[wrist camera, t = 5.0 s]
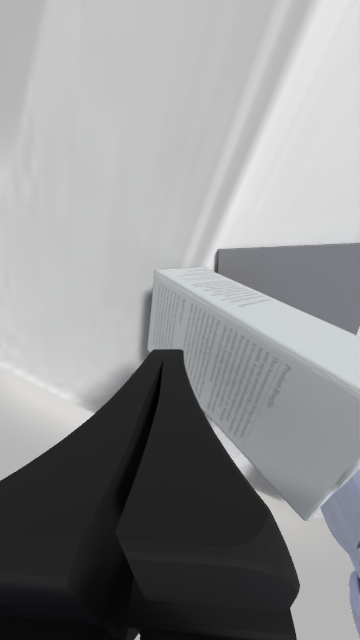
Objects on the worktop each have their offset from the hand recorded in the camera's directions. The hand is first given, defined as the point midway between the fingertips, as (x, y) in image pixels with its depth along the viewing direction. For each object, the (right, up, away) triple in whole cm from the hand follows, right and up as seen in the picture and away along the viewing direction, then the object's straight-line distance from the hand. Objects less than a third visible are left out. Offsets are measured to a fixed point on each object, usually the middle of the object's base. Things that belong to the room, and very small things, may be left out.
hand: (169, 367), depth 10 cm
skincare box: (0, +3, +6) cm, 7 cm away
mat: (+8, +4, +6) cm, 11 cm away
